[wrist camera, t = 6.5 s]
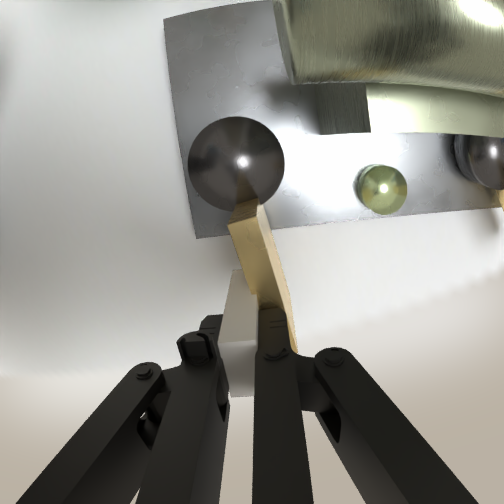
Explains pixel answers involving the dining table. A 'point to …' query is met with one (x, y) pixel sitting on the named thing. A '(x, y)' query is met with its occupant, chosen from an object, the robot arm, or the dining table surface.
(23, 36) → the dining table surface
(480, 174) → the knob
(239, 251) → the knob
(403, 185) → the base
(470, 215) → the dining table surface
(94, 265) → the dining table surface
